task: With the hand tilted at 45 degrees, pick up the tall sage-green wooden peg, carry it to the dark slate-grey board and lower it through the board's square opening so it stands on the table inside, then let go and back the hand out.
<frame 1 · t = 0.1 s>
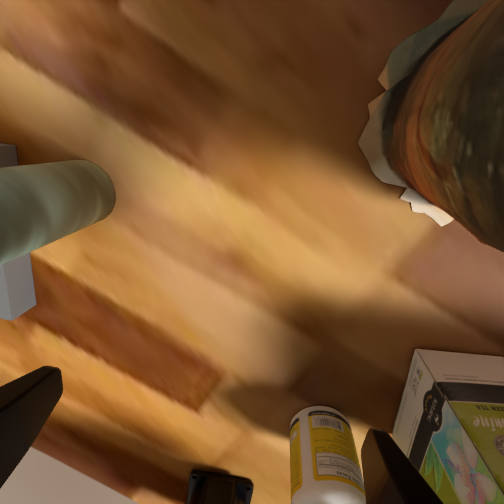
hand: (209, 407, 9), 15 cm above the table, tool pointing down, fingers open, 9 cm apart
peg: (85, 191, 23), on the table
tea box: (493, 401, 25), on the table
vessel: (479, 123, 19), on the table
supplement bottle: (319, 424, 28), on the table
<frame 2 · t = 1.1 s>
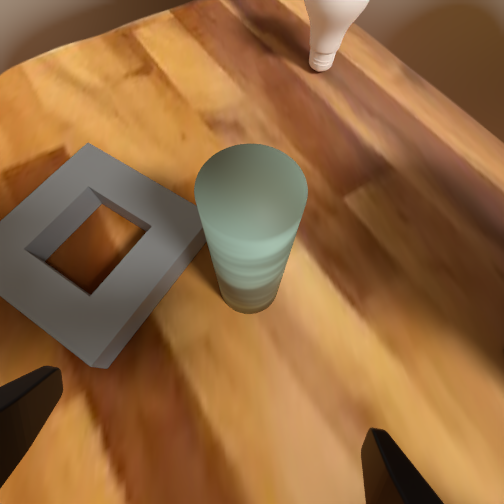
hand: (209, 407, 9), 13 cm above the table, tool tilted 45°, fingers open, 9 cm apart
lightbulb: (318, 71, 34), on the table
peg: (248, 285, 24), on the table
holder board: (103, 250, 25), on the table
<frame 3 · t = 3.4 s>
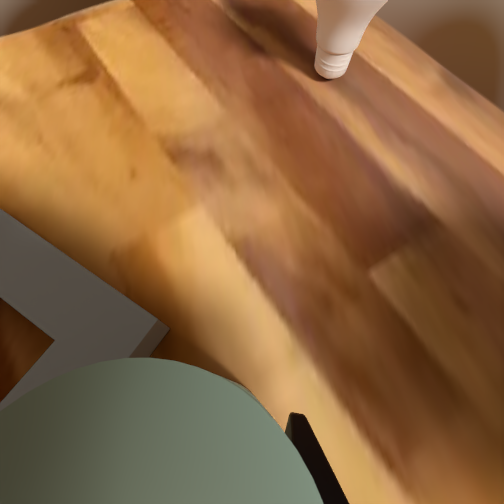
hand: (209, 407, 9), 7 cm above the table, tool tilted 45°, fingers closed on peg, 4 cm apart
lightbulb: (327, 78, 25), on the table
peg: (219, 430, 15), on the table, touching gripper
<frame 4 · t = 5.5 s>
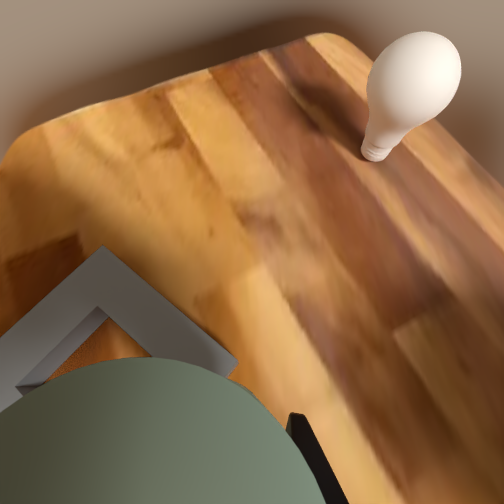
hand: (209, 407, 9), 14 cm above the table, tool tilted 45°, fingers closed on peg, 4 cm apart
lightbulb: (370, 158, 30), on the table
peg: (220, 430, 15), point 7 cm above the table, touching gripper
holder board: (107, 378, 22), on the table
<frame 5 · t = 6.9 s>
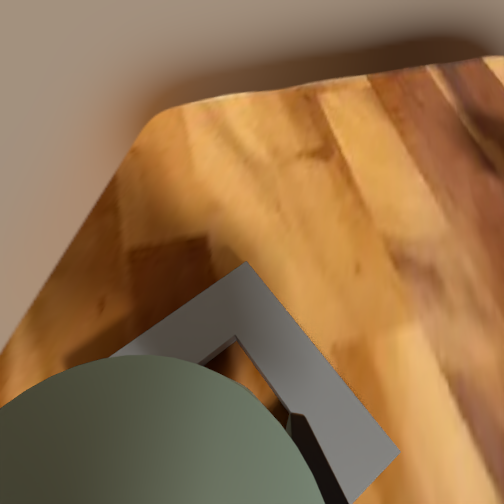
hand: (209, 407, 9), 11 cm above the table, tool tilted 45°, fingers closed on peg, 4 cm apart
peg: (219, 429, 15), point 4 cm above the table, touching gripper
holder board: (224, 419, 18), on the table
when the fingers open (8 cm above the table, at t = 7.7 s): peg drops 1 cm, resting in holder board.
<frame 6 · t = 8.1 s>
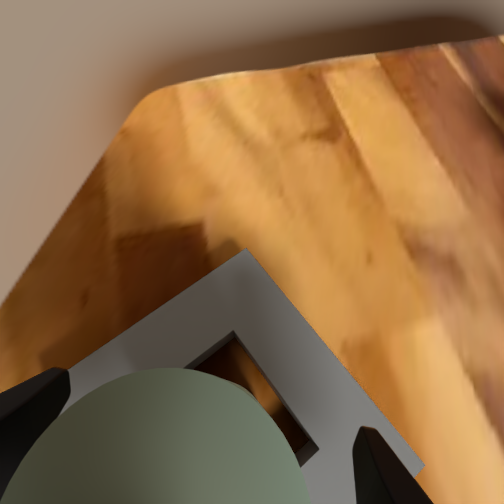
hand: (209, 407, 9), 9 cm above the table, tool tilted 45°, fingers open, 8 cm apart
peg: (221, 427, 16), resting in holder board
holder board: (221, 426, 16), on the table
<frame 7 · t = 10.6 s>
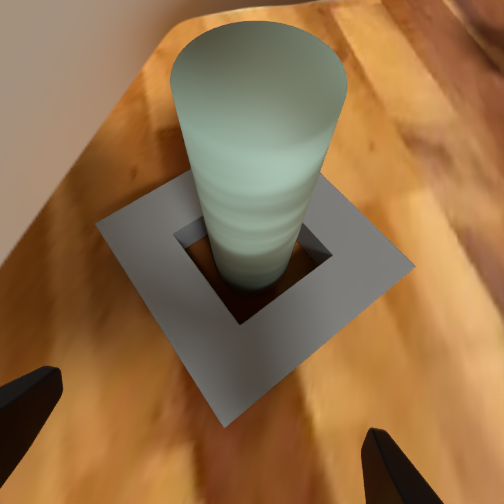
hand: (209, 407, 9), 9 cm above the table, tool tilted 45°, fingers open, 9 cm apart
peg: (251, 261, 20), resting in holder board
holder board: (251, 260, 20), on the table
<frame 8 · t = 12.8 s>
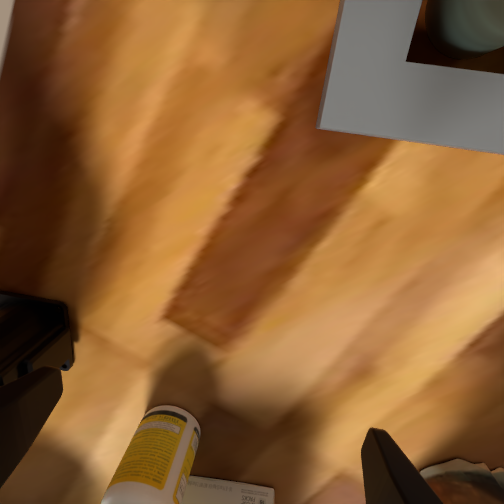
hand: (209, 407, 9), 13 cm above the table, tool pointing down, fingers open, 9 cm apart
peg: (474, 6, 15), resting in holder board
holder board: (475, 5, 15), on the table
supplement bottle: (173, 423, 28), on the table
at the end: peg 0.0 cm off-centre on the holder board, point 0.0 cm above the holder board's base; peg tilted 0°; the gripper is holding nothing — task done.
